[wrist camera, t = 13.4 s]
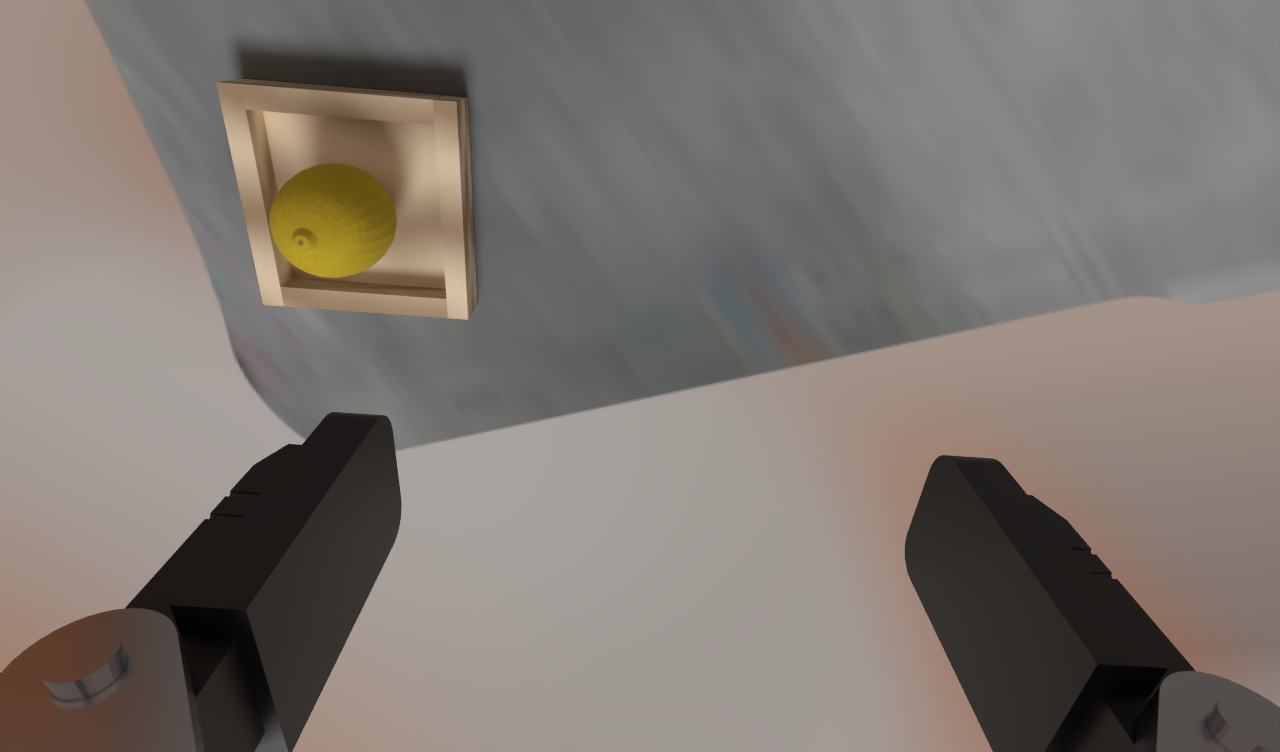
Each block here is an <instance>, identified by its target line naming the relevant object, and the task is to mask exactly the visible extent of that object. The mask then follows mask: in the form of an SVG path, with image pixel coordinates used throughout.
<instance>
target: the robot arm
mask: <svg viewBox="0 0 1280 752" xmlns="http://www.w3.org/2000/svg"><path fill="white" fill-rule="evenodd" d="M400 519H401V495H400V486H399V478H398V470H397V462H396V454H395V445H394V437H393V430H392V425H391V422H390V420H389V418H388V417H387V416H384V415H369V414H355V413H340V412H332V413H329V414H328V415H327V416H326V417H325V418H324V419H323V420H322V421H321V423H320V424H319V425H318V426H317V427H316V429H315V430H314V431H313V432H312V434H311V435H310V436H309V437H308V438H307V440H306V441H305V442H304V443H303V444H302V445H295V444H288V445H286V446H284V447H283V448H281V449H279V450H278V451H276V452H275V453H273V454H271V455H270V456H268V457H266V458H265V459H263V460H261V461H260V462H258V463H256V464H255V465H253V466H252V468H251V469H250V470H249V471H248V472H247V473H246V474H245V475H244V476H243V478H242V479H241V480H240V481H239V482H238V483H237V484H236V485H235V487H234V488H233V489H232V490H231V491H230V496H229V497H226V496H225V498H224V499H223V500H222V501H221V502H220V503H219V504H218V505H217V507H216V508H215V509H214V510H213V511H212V512H211V514H210V519H205V520H204V521H203V522H202V523H201V524H200V525H199V526H198V528H197V529H196V530H195V531H194V532H193V533H192V534H191V535H190V537H189V538H188V539H187V540H186V541H185V542H184V543H183V545H181V547H180V548H179V549H178V550H177V551H176V552H175V553H174V554H173V555H172V557H171V558H170V559H169V560H168V561H167V562H166V563H165V565H163V567H162V568H161V569H160V570H159V571H158V572H157V573H156V574H155V575H154V577H153V578H152V579H151V580H150V581H149V582H148V583H147V585H145V587H144V588H143V589H142V590H141V591H140V592H139V593H138V594H137V595H136V597H135V598H134V599H133V600H132V601H131V602H130V603H129V604H128V606H127V607H126V608H125V609H116V610H111V611H106V612H102V613H98V614H95V615H91V616H88V617H85V618H83V619H80V620H77V621H74V622H72V623H70V624H68V625H65V626H63V627H61V628H59V629H57V630H55V631H53V632H52V633H50V634H49V635H47V636H45V637H43V638H42V639H40V640H38V641H37V642H36V643H34V644H33V645H31V646H30V647H28V648H27V649H26V650H24V651H23V652H22V653H21V654H20V655H18V656H17V657H16V658H15V659H14V660H13V661H12V662H11V663H10V664H9V665H8V666H7V667H6V668H5V669H4V670H3V671H2V672H1V673H0V752H292V751H293V749H294V747H295V745H296V743H297V741H298V739H299V737H300V734H301V732H302V730H303V728H304V726H305V724H306V722H307V720H308V718H309V716H310V714H311V712H312V710H313V708H314V706H315V704H316V702H317V700H318V698H319V696H320V694H321V691H322V690H323V687H324V685H325V683H326V681H327V679H328V677H329V675H330V673H331V671H332V669H333V667H334V665H335V663H336V661H337V659H338V657H339V655H340V653H341V651H342V649H343V647H344V645H345V642H346V640H347V638H348V636H349V634H350V632H351V630H352V628H353V626H354V624H355V622H356V620H357V618H358V616H359V614H360V612H361V610H362V608H363V606H364V604H365V602H366V599H367V598H368V596H369V593H370V591H371V589H372V587H373V585H374V583H375V581H376V579H377V577H378V575H379V573H380V571H381V569H382V567H383V565H384V563H385V561H386V559H387V557H388V555H389V553H390V551H391V549H392V547H393V544H394V542H395V539H396V536H397V533H398V529H399V525H400ZM905 561H906V566H907V571H908V575H909V577H910V579H911V582H912V584H913V586H914V588H915V590H916V592H917V594H918V596H919V598H920V600H921V602H922V605H923V607H924V609H925V611H926V613H927V615H928V617H929V619H930V621H931V623H932V625H933V627H934V630H935V632H936V634H937V636H938V638H939V640H940V642H941V644H942V646H943V648H944V650H945V653H946V655H947V657H948V659H949V661H950V663H951V665H952V667H953V669H954V671H955V673H956V675H957V677H958V680H959V682H960V684H961V686H962V688H963V690H964V692H965V694H966V696H967V698H968V701H969V703H970V705H971V706H972V708H973V711H974V713H975V715H976V717H977V719H978V721H979V723H980V725H981V728H982V730H983V732H984V734H985V736H986V738H987V740H988V742H989V744H990V746H991V748H992V751H993V752H1280V707H1278V706H1277V705H1275V704H1274V703H1273V702H1271V701H1269V700H1268V699H1266V698H1264V697H1263V696H1261V695H1259V694H1258V693H1256V692H1254V691H1252V690H1250V689H1248V688H1246V687H1244V686H1242V685H1240V684H1238V683H1235V682H1233V681H1230V680H1228V679H1225V678H1222V677H1219V676H1216V675H1212V674H1207V673H1203V672H1196V671H1195V670H1194V669H1193V667H1192V666H1191V665H1190V664H1189V663H1188V662H1187V660H1186V659H1185V658H1184V657H1183V656H1182V655H1181V653H1180V652H1179V651H1178V650H1177V649H1176V648H1175V646H1174V645H1173V644H1172V643H1171V642H1170V640H1169V639H1168V638H1167V637H1166V636H1165V635H1164V633H1163V632H1162V631H1161V630H1160V629H1159V628H1158V627H1157V625H1156V624H1155V623H1154V622H1153V621H1152V620H1151V618H1150V617H1149V616H1148V615H1147V614H1146V612H1145V611H1144V610H1143V609H1142V608H1141V607H1140V605H1139V604H1138V603H1137V602H1136V601H1135V600H1134V598H1133V597H1132V596H1131V595H1130V594H1129V593H1128V591H1127V590H1126V589H1125V588H1124V587H1123V586H1122V584H1121V583H1120V582H1119V581H1118V580H1117V579H1112V577H1111V574H1112V573H1111V571H1110V570H1109V569H1108V568H1107V567H1106V566H1105V565H1104V564H1103V562H1102V561H1101V560H1100V559H1099V557H1098V556H1097V555H1093V554H1091V548H1090V547H1089V546H1088V545H1087V543H1086V542H1085V541H1084V540H1083V539H1082V538H1081V536H1080V535H1079V534H1078V533H1077V532H1076V531H1075V529H1074V528H1073V527H1072V526H1071V525H1070V523H1069V522H1068V521H1067V520H1066V519H1064V518H1063V517H1061V516H1060V515H1059V514H1057V513H1056V512H1054V511H1053V510H1052V509H1050V508H1049V507H1047V506H1046V505H1045V504H1043V503H1042V502H1040V501H1039V500H1038V499H1036V498H1035V497H1034V496H1032V495H1027V494H1026V493H1025V491H1024V490H1023V489H1022V488H1021V487H1020V485H1019V484H1018V483H1017V482H1016V480H1015V479H1014V478H1013V477H1012V476H1011V474H1010V473H1009V472H1008V471H1007V469H1006V468H1005V467H1004V466H1003V465H1002V464H1001V463H1000V462H999V461H997V460H995V459H989V458H976V457H961V456H947V455H942V456H939V457H938V458H937V459H936V460H935V461H934V462H933V464H932V466H931V468H930V471H929V473H928V476H927V479H926V482H925V485H924V488H923V491H922V493H921V496H920V499H919V502H918V505H917V507H916V510H915V513H914V516H913V519H912V522H911V524H910V527H909V530H908V533H907V537H906V542H905Z"/></svg>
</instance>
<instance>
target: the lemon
mask: <svg viewBox="0 0 1280 752" xmlns="http://www.w3.org/2000/svg"><path fill="white" fill-rule="evenodd" d="M396 227H397V219H396V211H395V208H394V204H393V201H392V199H391V197H390V196H389V194H388V192H387V190H386V189H385V188H384V187H383V186H382V184H381V183H380V182H379V181H378V180H377V179H375V178H374V177H373V176H371V175H370V174H368V173H367V172H365V171H363V170H361V169H358V168H356V167H354V166H350V165H344V164H339V163H330V164H319V165H315V166H313V167H310V168H307V169H304V170H302V171H300V172H298V173H297V174H296V175H294V176H293V177H292V178H291V179H289V180H288V181H287V182H286V183H285V184H284V185H283V186H282V187H281V189H280V190H279V192H278V194H277V195H276V197H275V198H274V200H273V203H272V207H271V210H270V230H271V233H272V237H273V240H274V242H275V244H276V246H277V247H278V249H279V251H280V252H281V253H282V254H283V256H284V257H285V258H286V259H287V260H288V261H289V262H291V263H292V264H293V265H294V266H296V267H297V268H299V269H301V270H303V271H305V272H307V273H309V274H312V275H316V276H319V277H327V278H340V277H345V276H350V275H355V274H358V273H360V272H362V271H364V270H366V269H368V268H370V267H372V266H373V265H375V264H376V263H377V262H378V261H379V260H380V259H381V258H382V257H383V256H384V255H385V254H386V253H387V251H388V249H389V247H390V246H391V244H392V242H393V240H394V236H395V232H396Z"/></svg>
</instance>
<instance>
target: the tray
mask: <svg viewBox="0 0 1280 752" xmlns="http://www.w3.org/2000/svg"><path fill="white" fill-rule="evenodd" d="M216 84H217V89H218V93H219V98H220V103H221V107H222V112H223V117H224V122H225V126H226V131H227V136H228V140H229V145H230V150H231V155H232V159H233V164H234V169H235V173H236V178H237V183H238V188H239V192H240V197H241V202H242V206H243V211H244V216H245V221H246V225H247V230H248V235H249V239H250V244H251V249H252V254H253V258H254V263H255V268H256V272H257V277H258V282H259V287H260V291H261V296H262V301H263V305H275V306H289V307H303V308H316V309H330V310H344V311H358V312H371V313H385V314H399V315H413V316H427V317H440V318H454V319H469V317H470V316H471V314H472V312H473V311H474V309H475V307H476V306H477V285H476V263H475V241H474V219H473V197H472V175H471V153H470V131H469V109H468V97H458V96H445V95H433V94H421V93H409V92H397V91H385V90H372V89H360V88H348V87H336V86H324V85H312V84H300V83H287V82H275V81H263V80H251V79H237V80H229V81H221V82H216ZM330 163H339V164H344V165H350V166H354V167H356V168H358V169H361V170H363V171H365V172H367V173H368V174H370V175H371V176H373V177H374V178H375V179H377V180H378V181H379V182H380V183H381V184H382V186H383V187H384V188H385V189H386V190H387V192H388V194H389V196H390V197H391V199H392V201H393V204H394V208H395V211H396V219H397V227H396V232H395V236H394V240H393V242H392V244H391V246H390V247H389V249H388V251H387V253H386V254H385V255H384V256H383V257H382V258H381V259H380V260H379V261H378V262H377V263H376V264H375V265H373V266H372V267H370V268H368V269H366V270H364V271H362V272H360V273H358V274H355V275H350V276H345V277H340V278H327V277H319V276H316V275H312V274H309V273H307V272H305V271H303V270H301V269H299V268H297V267H296V266H294V265H293V264H292V263H291V262H289V261H288V260H287V259H286V258H285V257H284V256H283V254H282V253H281V252H280V251H279V249H278V247H277V246H276V244H275V242H274V240H273V237H272V233H271V230H270V210H271V207H272V203H273V200H274V198H275V197H276V195H277V194H278V192H279V190H280V189H281V187H282V186H283V185H284V184H285V183H286V182H287V181H288V180H289V179H291V178H292V177H293V176H294V175H296V174H297V173H298V172H300V171H302V170H304V169H307V168H310V167H313V166H315V165H319V164H330Z"/></svg>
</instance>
